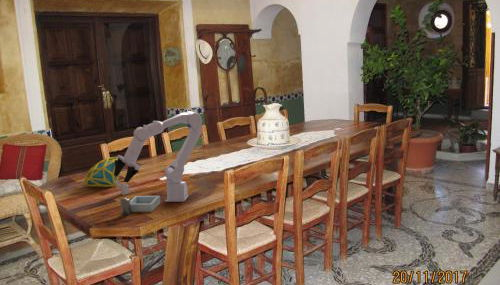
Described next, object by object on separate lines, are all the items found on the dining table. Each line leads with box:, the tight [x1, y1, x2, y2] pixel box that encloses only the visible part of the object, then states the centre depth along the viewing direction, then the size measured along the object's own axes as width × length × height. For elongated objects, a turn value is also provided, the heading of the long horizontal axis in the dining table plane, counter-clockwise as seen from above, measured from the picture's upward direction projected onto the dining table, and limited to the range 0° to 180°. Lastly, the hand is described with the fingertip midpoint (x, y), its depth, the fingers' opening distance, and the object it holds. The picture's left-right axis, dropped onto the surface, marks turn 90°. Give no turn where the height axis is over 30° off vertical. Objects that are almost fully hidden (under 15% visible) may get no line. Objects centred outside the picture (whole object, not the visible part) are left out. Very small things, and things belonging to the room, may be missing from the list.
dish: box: [130, 195, 161, 213], centre depth 217 cm, size 12×12×4 cm
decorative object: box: [84, 156, 121, 188], centre depth 253 cm, size 23×23×15 cm
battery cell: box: [119, 197, 132, 217], centre depth 208 cm, size 4×4×8 cm
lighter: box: [115, 180, 130, 196], centre depth 237 cm, size 7×2×8 cm, turn 141°
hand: (120, 178), depth 213 cm, fingers open, 7 cm apart
